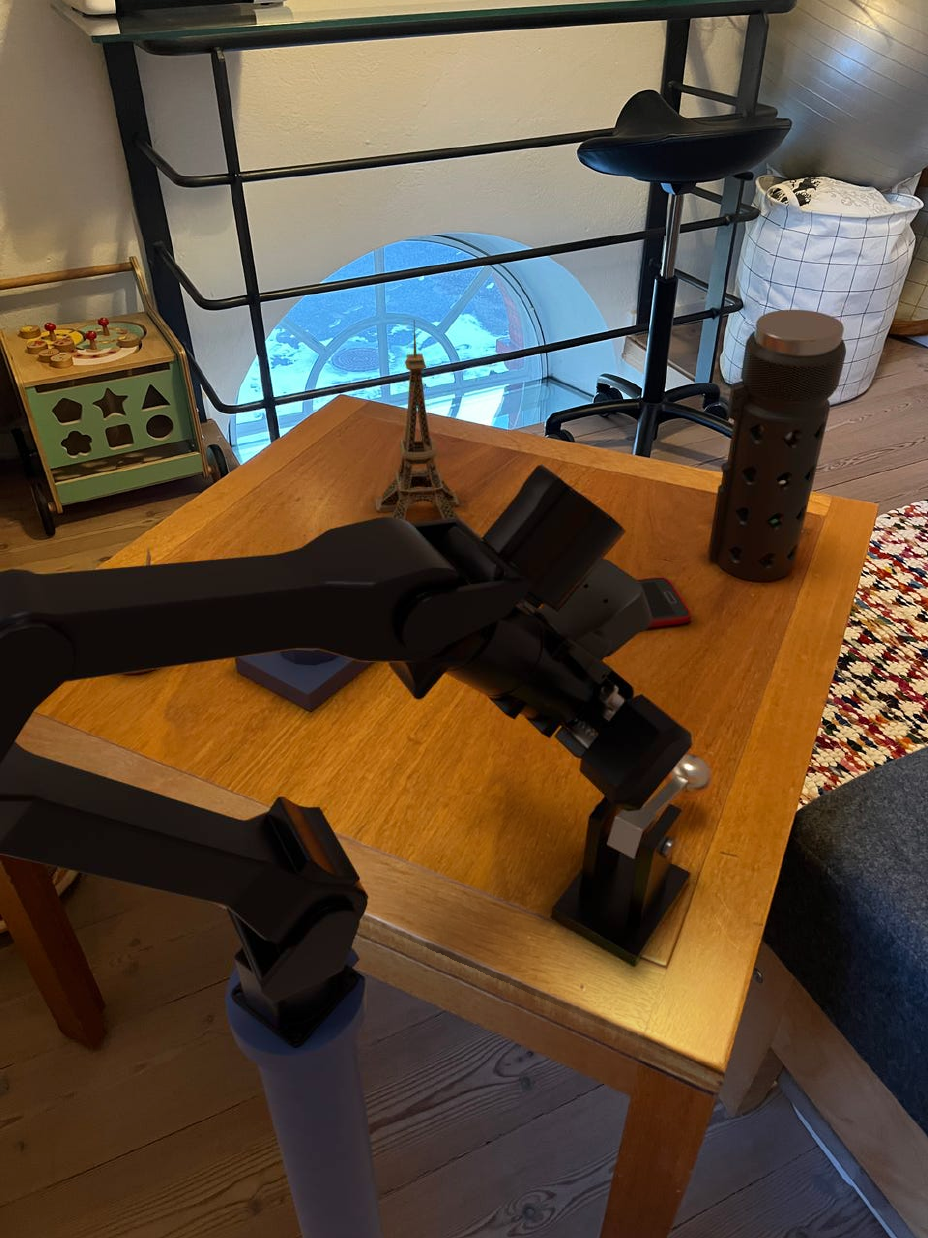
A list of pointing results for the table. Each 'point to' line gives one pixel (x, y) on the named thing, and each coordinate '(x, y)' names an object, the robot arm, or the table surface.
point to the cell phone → (664, 602)
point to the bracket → (623, 886)
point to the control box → (301, 674)
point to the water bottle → (775, 441)
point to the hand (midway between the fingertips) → (622, 725)
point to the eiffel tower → (417, 458)
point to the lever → (659, 804)
